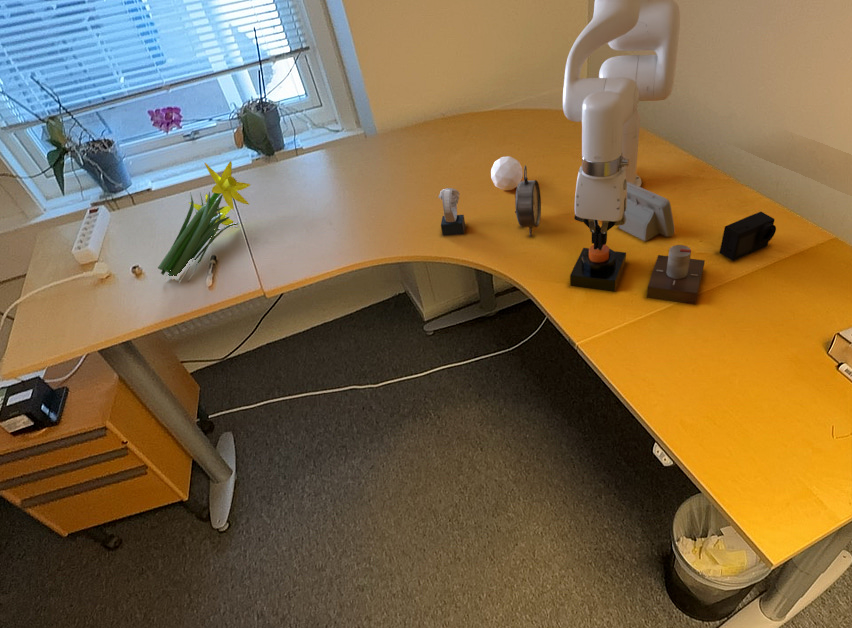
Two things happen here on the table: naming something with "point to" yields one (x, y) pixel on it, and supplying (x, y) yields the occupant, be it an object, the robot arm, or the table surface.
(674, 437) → the table surface
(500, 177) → the white faceted rounded piece
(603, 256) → the button
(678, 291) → the dial panel
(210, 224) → the daffodil flowers
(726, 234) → the digital camera
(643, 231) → the digital clock
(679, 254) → the dial
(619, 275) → the button box
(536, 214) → the alarm clock
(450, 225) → the watch
